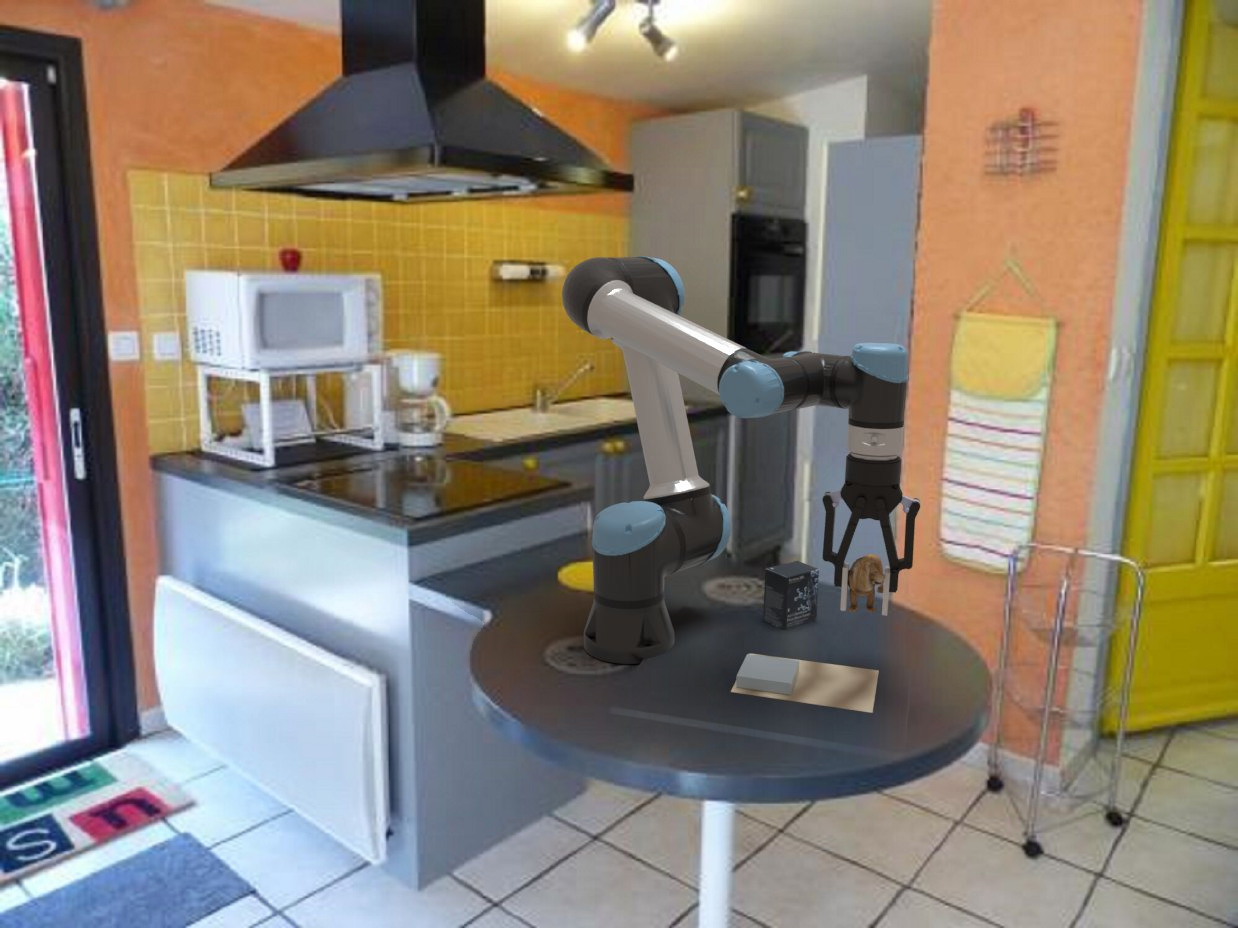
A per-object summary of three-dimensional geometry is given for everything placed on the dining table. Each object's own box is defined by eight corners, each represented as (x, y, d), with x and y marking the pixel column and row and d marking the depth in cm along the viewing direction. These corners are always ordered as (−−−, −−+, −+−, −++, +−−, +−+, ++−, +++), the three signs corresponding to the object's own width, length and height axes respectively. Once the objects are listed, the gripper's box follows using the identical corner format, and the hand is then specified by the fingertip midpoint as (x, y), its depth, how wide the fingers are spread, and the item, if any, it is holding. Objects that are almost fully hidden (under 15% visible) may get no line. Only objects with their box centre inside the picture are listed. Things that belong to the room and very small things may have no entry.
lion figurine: (884, 623, 128) (886, 562, 126) (845, 620, 130) (847, 560, 128) (885, 587, 142) (886, 532, 140) (850, 585, 143) (851, 530, 142)
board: (730, 697, 132) (730, 691, 132) (749, 658, 145) (749, 653, 145) (872, 719, 126) (872, 712, 126) (878, 676, 139) (878, 670, 139)
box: (784, 635, 154) (786, 576, 152) (762, 624, 159) (763, 567, 157) (817, 625, 159) (820, 568, 156) (794, 615, 163) (796, 559, 161)
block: (747, 665, 141) (736, 687, 133) (747, 653, 140) (736, 675, 133) (798, 672, 138) (790, 695, 131) (799, 660, 138) (791, 683, 130)
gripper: (805, 455, 126) (798, 611, 132) (943, 464, 121) (929, 626, 126) (810, 445, 133) (803, 593, 139) (941, 453, 128) (928, 607, 133)
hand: (863, 609), depth 133 cm, fingers closed on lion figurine, 5 cm apart
